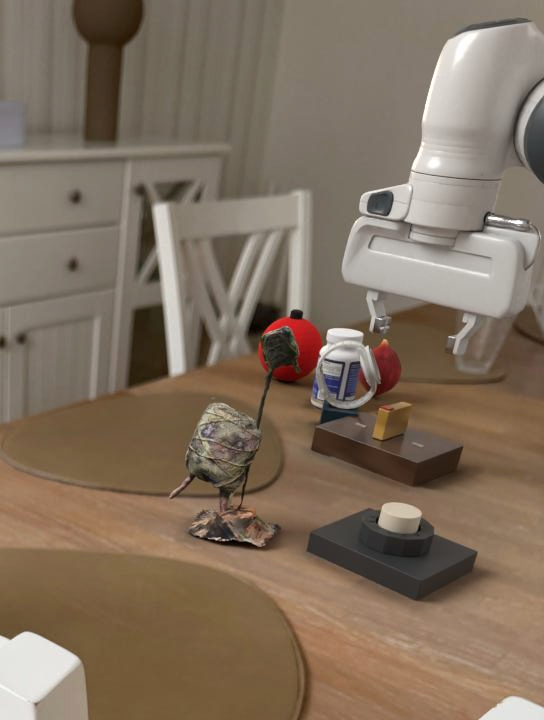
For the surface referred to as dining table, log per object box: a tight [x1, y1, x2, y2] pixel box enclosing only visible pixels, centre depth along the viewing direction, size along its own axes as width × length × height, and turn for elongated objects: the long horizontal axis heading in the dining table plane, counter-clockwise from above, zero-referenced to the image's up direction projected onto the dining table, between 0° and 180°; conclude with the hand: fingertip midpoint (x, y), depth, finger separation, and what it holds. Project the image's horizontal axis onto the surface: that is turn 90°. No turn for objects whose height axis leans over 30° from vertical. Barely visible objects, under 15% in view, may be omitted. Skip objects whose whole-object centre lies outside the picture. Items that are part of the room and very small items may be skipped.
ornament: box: [258, 308, 323, 382], centre depth 141 cm, size 9×9×10 cm
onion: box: [358, 338, 403, 398], centre depth 137 cm, size 6×6×8 cm
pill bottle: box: [310, 327, 365, 410], centre depth 132 cm, size 6×6×10 cm
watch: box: [315, 340, 381, 425], centre depth 123 cm, size 6×8×11 cm
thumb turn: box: [372, 401, 413, 440], centre depth 115 cm, size 5×1×4 cm, turn 131°
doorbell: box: [306, 507, 479, 602], centre depth 92 cm, size 12×10×4 cm
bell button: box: [378, 501, 423, 534], centre depth 91 cm, size 4×4×2 cm
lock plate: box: [310, 411, 464, 488], centre depth 117 cm, size 14×10×3 cm
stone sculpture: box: [168, 326, 301, 548], centre depth 92 cm, size 8×11×20 cm
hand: (415, 343), depth 107 cm, fingers open, 8 cm apart
